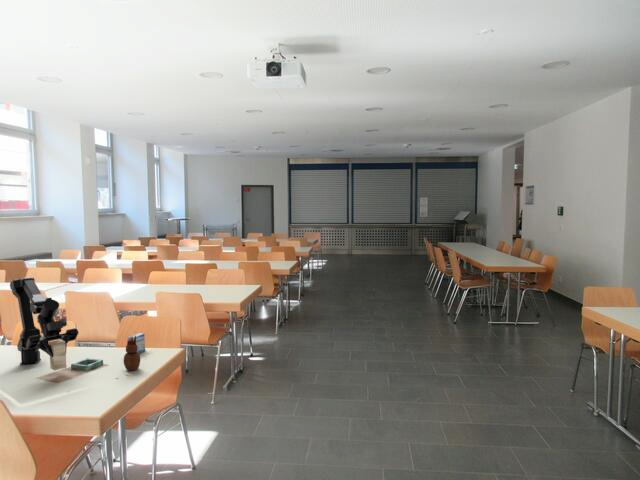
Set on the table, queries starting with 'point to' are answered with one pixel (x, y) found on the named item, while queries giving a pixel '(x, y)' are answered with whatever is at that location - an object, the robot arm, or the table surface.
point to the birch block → (58, 354)
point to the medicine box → (139, 341)
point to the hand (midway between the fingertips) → (59, 355)
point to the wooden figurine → (131, 355)
